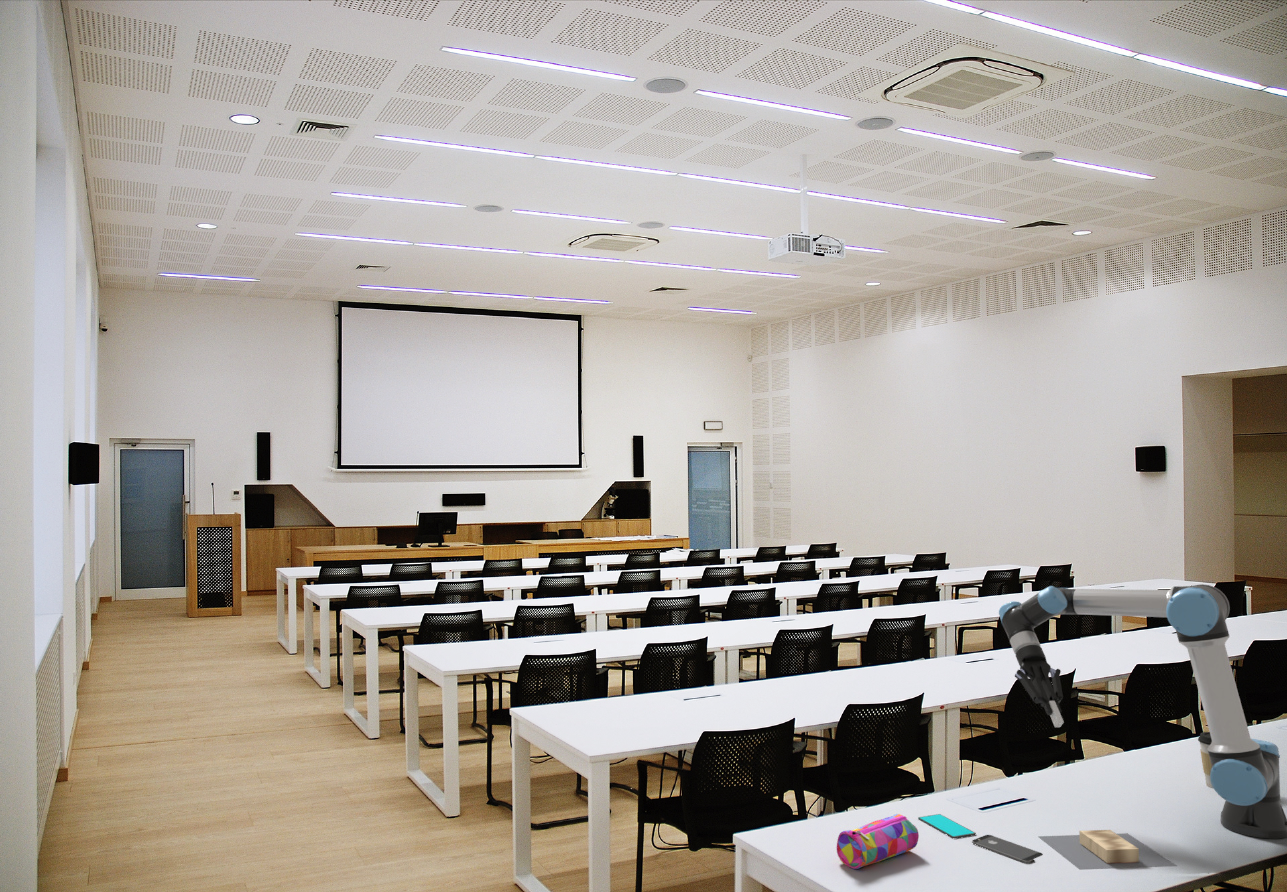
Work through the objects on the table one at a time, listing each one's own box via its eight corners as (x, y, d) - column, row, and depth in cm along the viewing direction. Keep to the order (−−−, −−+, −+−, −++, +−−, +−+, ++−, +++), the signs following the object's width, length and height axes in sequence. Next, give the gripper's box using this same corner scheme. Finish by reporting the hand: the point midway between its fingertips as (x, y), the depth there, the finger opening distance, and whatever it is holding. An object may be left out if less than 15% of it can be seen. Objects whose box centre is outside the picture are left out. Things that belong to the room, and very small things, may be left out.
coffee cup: (1237, 784, 278) (1236, 734, 278) (1237, 793, 269) (1236, 742, 270) (1199, 778, 283) (1198, 729, 284) (1198, 788, 275) (1197, 737, 275)
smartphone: (953, 837, 238) (917, 817, 252) (953, 840, 238) (917, 820, 252) (976, 833, 240) (940, 813, 254) (977, 836, 240) (940, 816, 254)
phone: (1045, 857, 226) (988, 837, 239) (1045, 853, 226) (988, 833, 239) (1027, 865, 222) (970, 844, 235) (1027, 861, 222) (969, 840, 235)
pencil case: (862, 877, 216) (861, 838, 216) (832, 863, 224) (832, 825, 224) (922, 854, 228) (921, 817, 229) (891, 842, 236) (891, 806, 236)
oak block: (1110, 829, 233) (1138, 848, 221) (1110, 842, 233) (1138, 862, 221) (1079, 830, 232) (1106, 849, 220) (1079, 843, 232) (1106, 863, 220)
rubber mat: (1127, 835, 239) (1127, 833, 239) (1177, 868, 219) (1177, 865, 219) (1037, 838, 237) (1037, 836, 237) (1079, 871, 217) (1079, 869, 218)
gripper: (1045, 657, 270) (1077, 731, 253) (1002, 658, 269) (1031, 732, 252) (1054, 642, 265) (1087, 716, 248) (1010, 643, 264) (1040, 717, 247)
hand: (1059, 724), depth 250 cm, fingers closed
